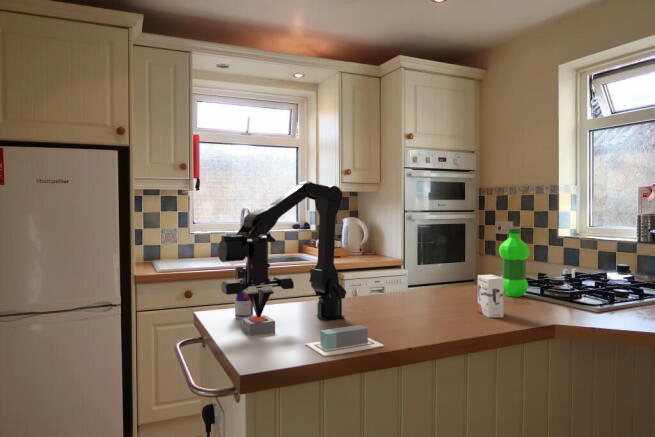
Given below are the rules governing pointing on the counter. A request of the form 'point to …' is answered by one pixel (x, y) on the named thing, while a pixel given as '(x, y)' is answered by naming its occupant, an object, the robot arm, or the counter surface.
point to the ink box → (490, 295)
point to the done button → (258, 318)
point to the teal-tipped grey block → (343, 337)
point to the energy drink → (243, 305)
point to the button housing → (258, 326)
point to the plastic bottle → (514, 264)
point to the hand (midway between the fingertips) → (258, 316)
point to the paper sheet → (343, 348)
